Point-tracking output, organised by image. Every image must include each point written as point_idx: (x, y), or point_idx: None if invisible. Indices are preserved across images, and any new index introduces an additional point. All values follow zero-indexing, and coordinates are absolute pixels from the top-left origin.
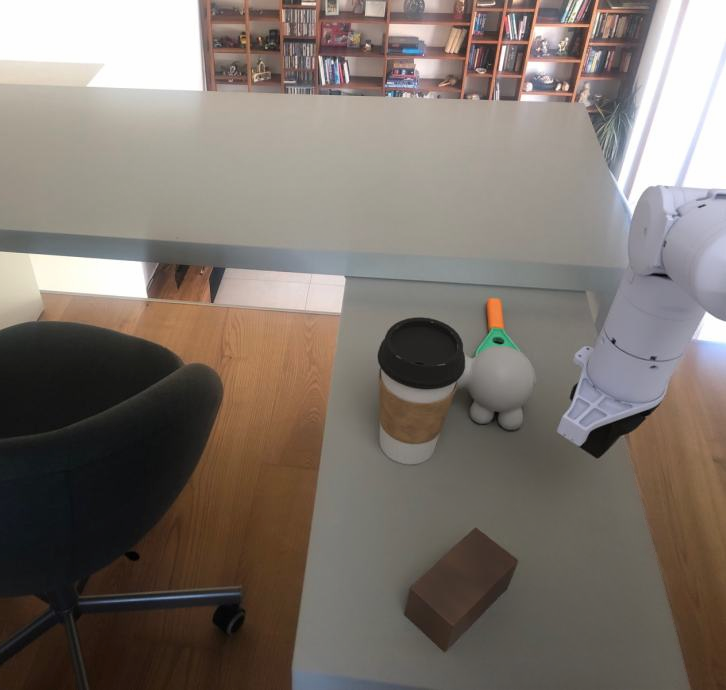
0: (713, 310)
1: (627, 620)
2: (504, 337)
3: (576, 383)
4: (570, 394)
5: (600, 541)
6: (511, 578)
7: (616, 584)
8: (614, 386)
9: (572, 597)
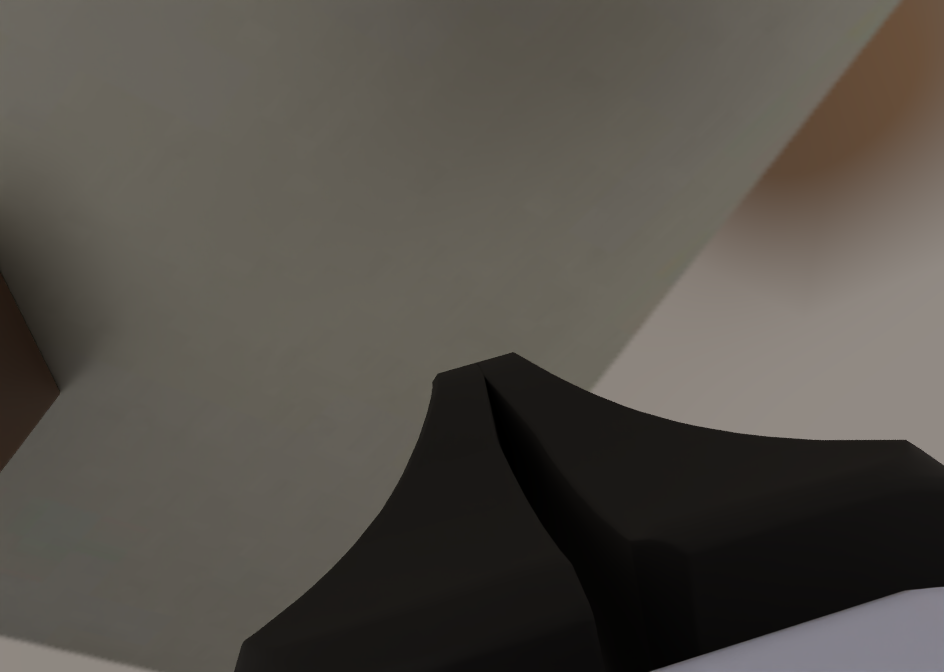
0: None
1: None
2: None
3: (391, 662)
4: (254, 652)
5: None
6: (39, 420)
7: (389, 492)
8: None
9: (241, 482)
